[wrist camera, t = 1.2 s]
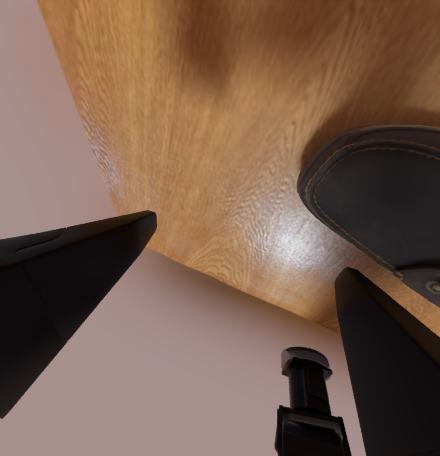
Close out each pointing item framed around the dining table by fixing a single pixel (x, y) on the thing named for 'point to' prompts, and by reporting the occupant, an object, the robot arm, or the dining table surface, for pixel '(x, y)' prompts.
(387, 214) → the boat shoe
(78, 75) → the dining table surface
